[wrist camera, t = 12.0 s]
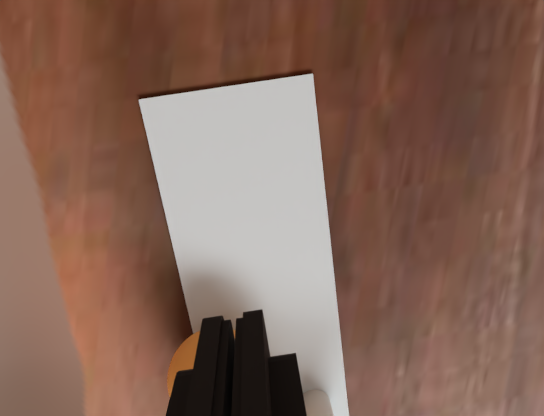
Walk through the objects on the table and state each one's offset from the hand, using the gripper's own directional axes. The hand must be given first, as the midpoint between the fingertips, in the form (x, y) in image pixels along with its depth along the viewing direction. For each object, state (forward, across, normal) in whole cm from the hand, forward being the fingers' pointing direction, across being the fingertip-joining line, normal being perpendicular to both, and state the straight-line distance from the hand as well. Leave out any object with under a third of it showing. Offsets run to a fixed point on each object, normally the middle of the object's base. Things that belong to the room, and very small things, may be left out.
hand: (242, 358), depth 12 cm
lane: (+15, 0, +9) cm, 18 cm away
